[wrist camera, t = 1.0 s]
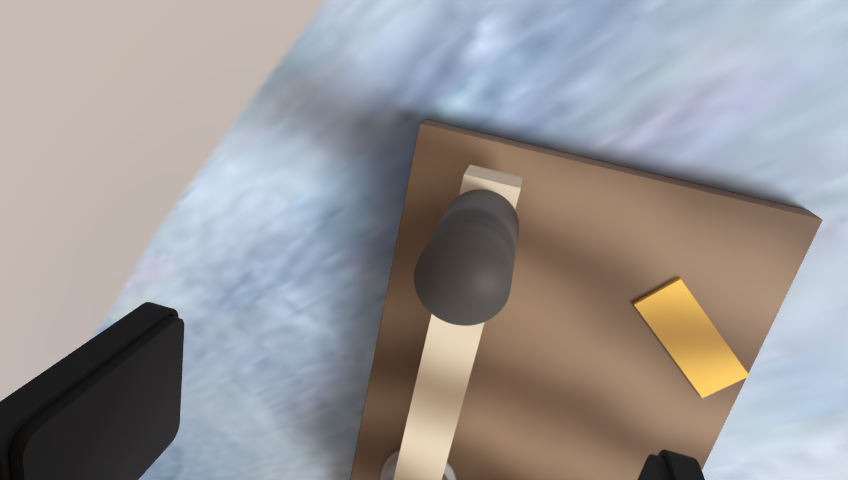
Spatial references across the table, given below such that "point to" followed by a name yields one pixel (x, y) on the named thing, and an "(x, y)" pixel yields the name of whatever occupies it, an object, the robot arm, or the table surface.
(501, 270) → the lever
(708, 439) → the press board
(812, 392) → the table surface
